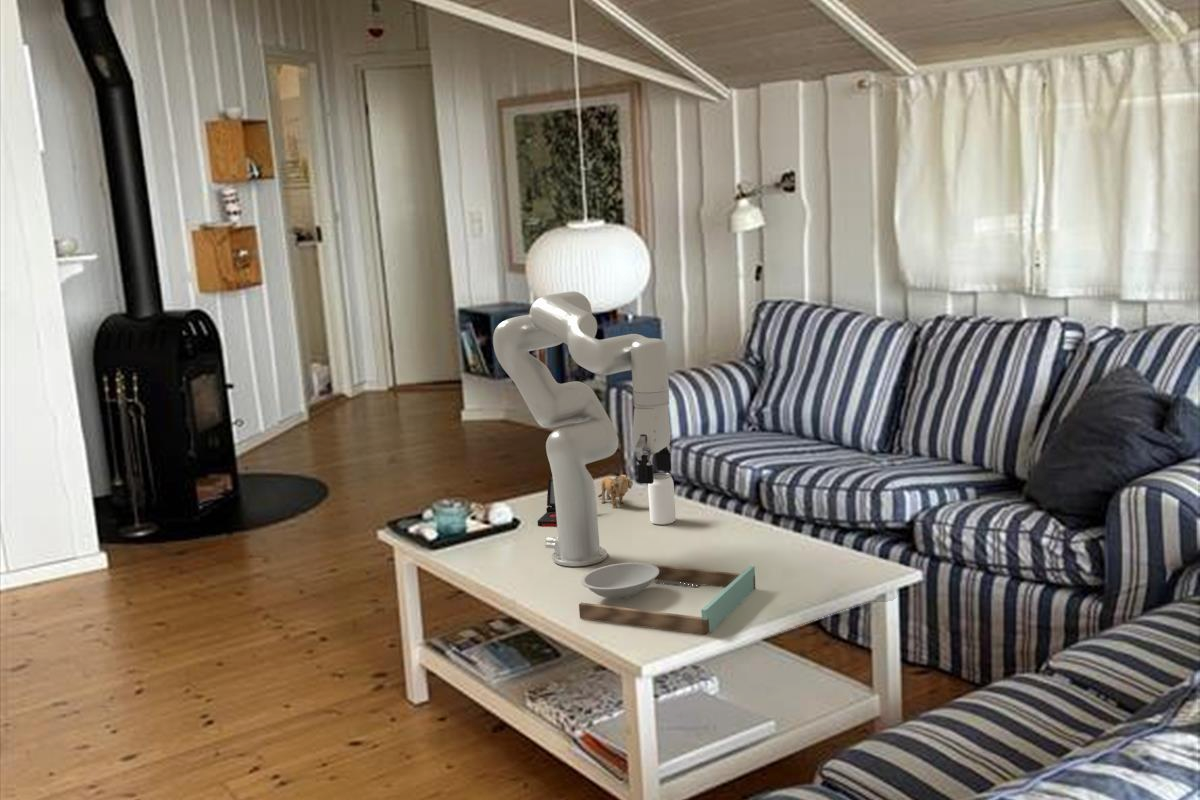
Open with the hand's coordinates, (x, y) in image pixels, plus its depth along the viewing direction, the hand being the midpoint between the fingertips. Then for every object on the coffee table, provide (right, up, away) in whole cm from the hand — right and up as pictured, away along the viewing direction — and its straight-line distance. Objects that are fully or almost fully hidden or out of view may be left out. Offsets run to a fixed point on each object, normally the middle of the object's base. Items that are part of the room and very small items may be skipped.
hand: (655, 476), depth 257 cm
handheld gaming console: (-22, -15, +58) cm, 63 cm away
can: (+4, -15, +49) cm, 51 cm away
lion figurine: (-8, -12, +68) cm, 69 cm away
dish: (-7, -26, -1) cm, 27 cm away
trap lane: (+3, -26, -7) cm, 27 cm away
